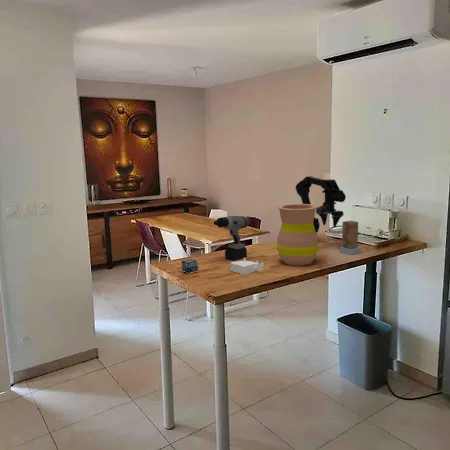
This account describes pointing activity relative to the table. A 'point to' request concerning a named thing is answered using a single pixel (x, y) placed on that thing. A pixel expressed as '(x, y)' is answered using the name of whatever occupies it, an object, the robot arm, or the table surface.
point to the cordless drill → (233, 224)
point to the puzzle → (189, 265)
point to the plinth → (349, 251)
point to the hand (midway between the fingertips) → (329, 226)
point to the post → (350, 235)
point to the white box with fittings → (245, 267)
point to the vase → (297, 234)
